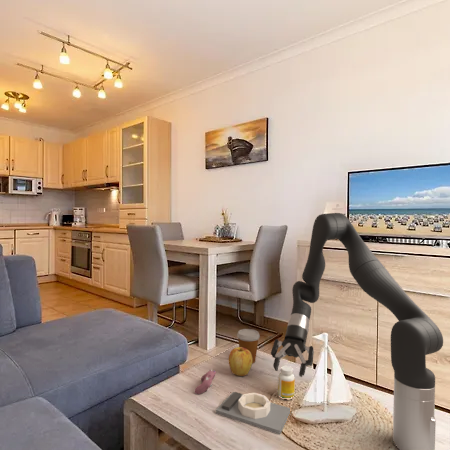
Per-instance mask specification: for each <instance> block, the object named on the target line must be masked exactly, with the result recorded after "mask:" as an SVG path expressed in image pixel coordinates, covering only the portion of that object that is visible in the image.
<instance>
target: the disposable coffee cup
mask: <svg viewBox="0 0 450 450" xmlns="http://www.w3.org/2000/svg"><path fill="white" fill-rule="evenodd" d="M260 335H261V334H260V332H259V331H257V330H256V329H251V328H243V329H239V330H238V331H237V333H236V337H237V341H238V342H237V343H238V347H243V348H246V349H248V350H249V351H250V352H251V354H252V365H253V364H255V363H256V359H257V352H258V346H259V339H260V338H261V336H260Z"/></svg>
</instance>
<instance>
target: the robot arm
mask: <svg viewBox="0 0 450 450" xmlns="http://www.w3.org/2000/svg"><path fill="white" fill-rule="evenodd" d="M332 240H334V241H335V240H338V241H340V242H341V244H342V245H343V246H344V248H345V250H346V251H347V254H348V268H349V272H350V275H351V276H352V277H353V279H354V280H355V281H356V283H357V284H358V286H359V287H360V289H361V290H362V291H364V292H365V294H367V295H368V296H369V297H371V298H372V299H374V300H375V301H376V302H378V303H379V304H380V305H382V306H384V307H385V308H386V309H387V310H389V311H390V312H391V313H392V315H394V317H395V318H396V319H397V320H398V321H396V322H395V323H394V324H393V326H392V328H391V332H390V362H391V367H392V370H393V372H394V375H393V377H394V379H393V413H392V415H393V416H392V417H393V418H392V442H393V441H394V442H395V444H396V445H397V447H396V448H397V449H398V450H436V423H437V422H436V417H435V410H436V409H435V405H436V403H435V402H436V376H435V374H434V372H433V370H431V369H429V368H427V364H426V359H427V358H426V356H427V355H432V354H434V353H437V352H440V350H441V349H442V348H443V346H444V337H443V334H442V332H441V330H440V328H439V327H438V325H437V323H435V322H434V321H433V320H432V319H431V317H429V316H428V314H426V312H424V310H423V309H421V307H419V306H418V304H416V302H415V301H414V300H413V299H412V298H410V296H409V295H408V293H406V292H405V290H404V289H403V288H402V287H401V286H400V285H399V283H398V282H397V281H396V280H395V278H394V277H393V276H392V275H391V273H390V271H388V269H387V268H386V267H385V266H384V264H383V263H382V262H381V261H380V260H379V259H378V257H377V256H376V255H375V254H374V253H373V252H372V250H371V249H370V248H369V246H368V245H367V244H366V242H365V241H364V240H363V239H362V237H361V235H359V232H358V231H357V230H356V227H354V225H353V223H352V222H351V221H350V219H349V218H348V217H347V216H346V215H345V214H343V213H340V212H330V213H329V212H328V213H322V214H319V215H317V216H316V217H315V220H314V222H313V225H312V232H311V237H310V243H309V244H310V245H309V250H308V257H307V260H306V263H305V266H304V267H303V268H304V269H303V271H302V274H301V275H302V276H301V277H302V278H301V279H302V280H303V281H301V280H298V281H296V282H295V283H294V284H293V286H292V289H291V290H292V309H291V314H290V317H289V320H288V322H287V326H286V330H285V331H286V332H285V335H284V340H283V341H281V340H279V339H277V338H276V339H274V342H273V345H272V348H271V351H270V355H271V357H272V358H274V360H273V365H272V366H273V368H274V369H273V370H275V371H276V372H278V371H279V367H280V362H281V361H280V360H281V359H283V358H285V357H286V356H288V357H294V358H295V359H296V358H299V360H300V362H301V363H300V367H299V372H298V376H299V377H300V378H303V376H305V374H306V368H307V367H308V366H309V367H312V366H313V362H314V353H315V349H314V347H313V346H312V345H310V346H306V343H307V339H308V333H309V330H310V329H309V328H310V319H311V315H312V307H311V306H310V304H314V303H316V302H318V300H319V299H320V298H319V297H320V284H321V283H320V282H321V280H322V278H323V275H324V272H325V269H326V259H325V256H324V252H323V251H324V247H325V244H326V243H327V241H332ZM308 303H309V304H308ZM281 346H282V347H281ZM280 347H281V348H280ZM279 348H280V350H279V351H278V349H279ZM305 352H307V354H308V356H307V359H306V360H305V357H304V355H303V354H304V353H305ZM394 442H393V443H394ZM395 444H394V445H395ZM396 445H395V446H396Z"/></svg>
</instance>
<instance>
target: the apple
mask: <svg viewBox="0 0 450 450" xmlns="http://www.w3.org/2000/svg"><path fill="white" fill-rule="evenodd" d="M227 360H228V365H229V369H230V371H231V373H232V374H233V375H235V376H238V377H245V376H247V375H248V374H249V372H250V370H251V368H252V365H253V364H252V354H251V352H250V351H249V350H248V349H246V348H243V347H239V346H236V347H234V348H233V349H231V350H230V352H229V354H228V359H227Z"/></svg>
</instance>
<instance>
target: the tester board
mask: <svg viewBox="0 0 450 450" xmlns="http://www.w3.org/2000/svg"><path fill="white" fill-rule="evenodd" d="M290 408H291V407H288V406H285V405H280V404H277V403H273V402H271V401H270V400H269V398H268V397H267V396H266V395H264V394H261V393H257V392H250V393H244V394H243V393H241V392H237V391H232V392H231V393H230V394H229V395H228V397H226V398H225V400H224V401H223V402H221V404H220V405H219V406H218V407H217V408H216V409H215V414H217V415H220V416H223V417H227V418H229V419H232V420H234V421H235V420H236V421H238V422H241V423H244V424H247V425H249V426H252V427H253V426H254V427H257V428H259V429H262V430H266V431H268V432H271V433H275V434H278V435H281V434H282V432H283V429H284V428H285V426H286V424H287V422H288V420H287V418H288V416H289V414H290ZM290 415H291V414H290ZM289 417H290V416H289ZM288 419H289V418H288ZM286 421H287V422H286ZM285 423H286V424H285ZM284 425H285V426H284Z"/></svg>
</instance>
